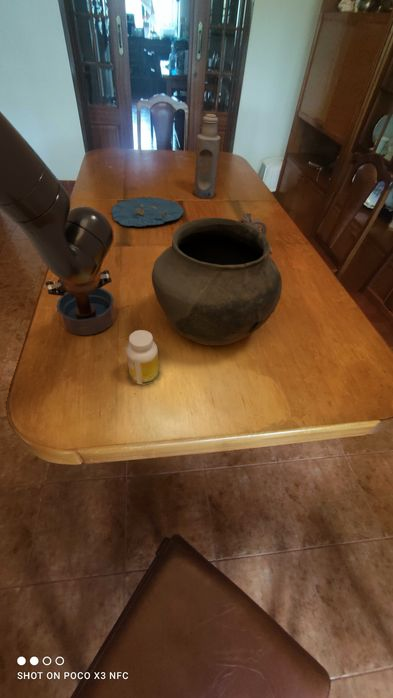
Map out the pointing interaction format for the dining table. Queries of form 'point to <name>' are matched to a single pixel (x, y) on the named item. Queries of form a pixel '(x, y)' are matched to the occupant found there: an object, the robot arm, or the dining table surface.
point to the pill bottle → (142, 357)
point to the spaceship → (255, 225)
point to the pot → (217, 281)
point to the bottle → (207, 158)
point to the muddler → (84, 308)
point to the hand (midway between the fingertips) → (79, 290)
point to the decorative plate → (146, 211)
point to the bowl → (89, 326)
